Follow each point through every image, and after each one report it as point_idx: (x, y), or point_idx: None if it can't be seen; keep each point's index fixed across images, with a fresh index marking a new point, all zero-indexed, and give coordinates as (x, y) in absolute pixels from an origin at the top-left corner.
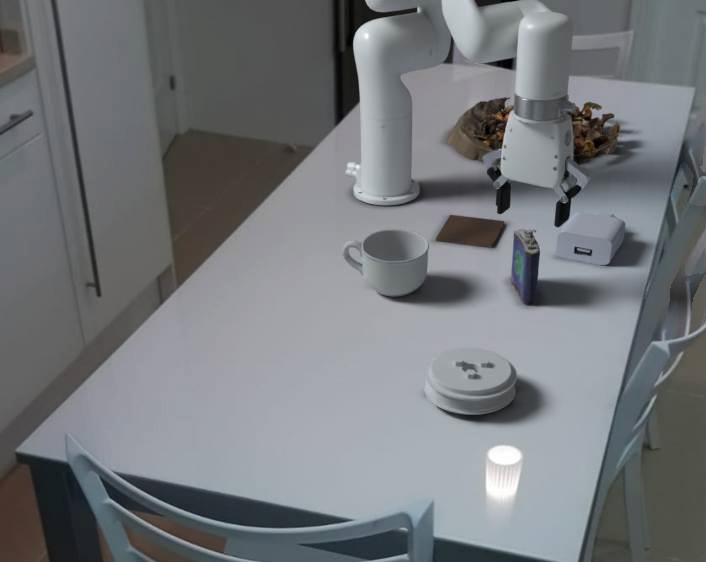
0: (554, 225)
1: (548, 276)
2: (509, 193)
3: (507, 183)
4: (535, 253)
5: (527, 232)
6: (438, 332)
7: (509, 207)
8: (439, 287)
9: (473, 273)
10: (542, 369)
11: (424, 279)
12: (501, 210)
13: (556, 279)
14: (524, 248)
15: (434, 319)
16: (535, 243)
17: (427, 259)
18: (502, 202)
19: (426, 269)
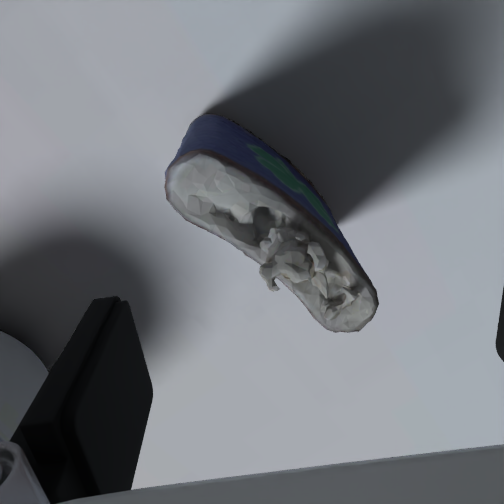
0: (499, 353)
1: (270, 25)
2: (102, 389)
3: (66, 497)
4: (371, 319)
5: (285, 274)
6: (218, 440)
7: (128, 308)
8: (63, 301)
9: (65, 175)
10: (471, 421)
11: (42, 370)
12: (148, 408)
13: (305, 28)
14: (310, 312)
15: (174, 412)
16: (327, 251)
17: (11, 401)
18: (138, 447)
19: (29, 384)
